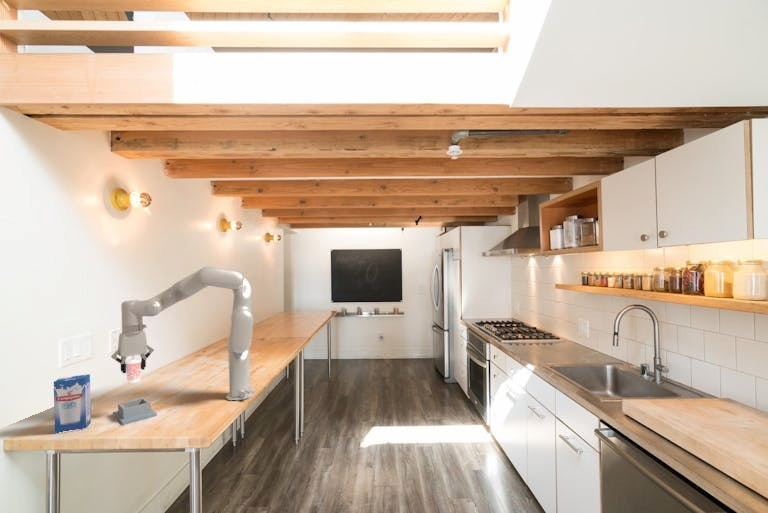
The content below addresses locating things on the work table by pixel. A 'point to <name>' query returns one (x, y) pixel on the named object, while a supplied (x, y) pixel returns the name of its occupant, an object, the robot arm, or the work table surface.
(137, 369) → the beverage cup
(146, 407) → the grey cup holder
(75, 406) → the blue white food package
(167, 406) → the work table surface
